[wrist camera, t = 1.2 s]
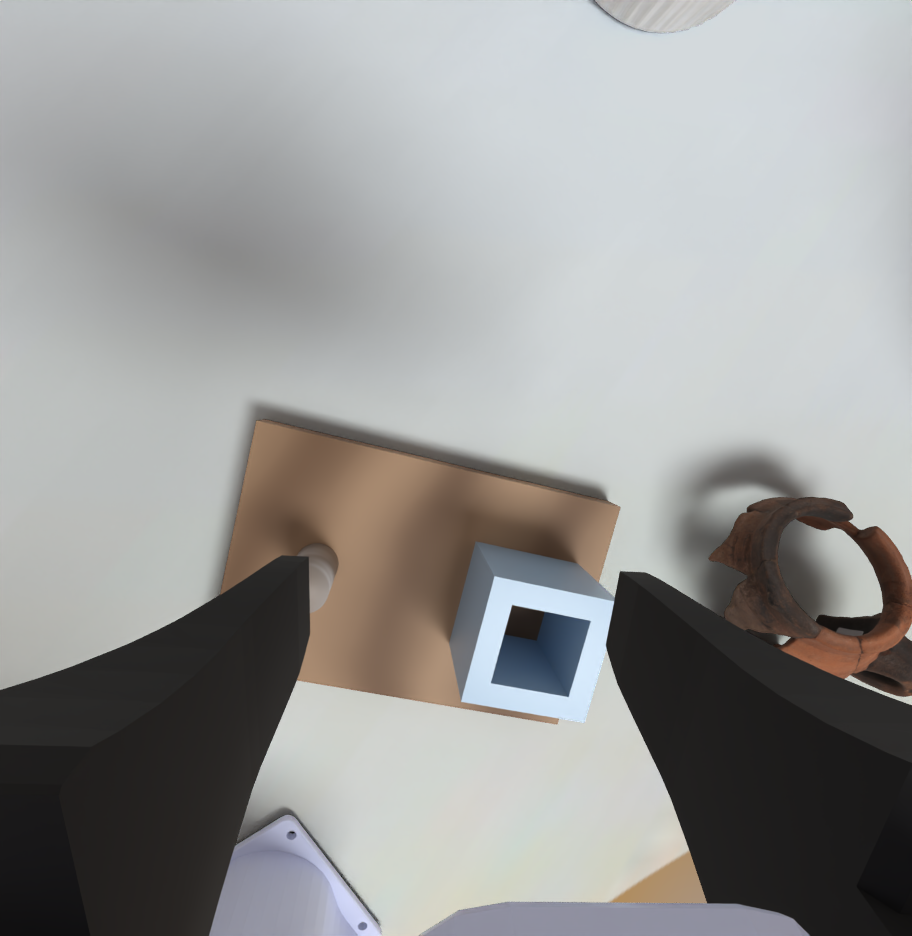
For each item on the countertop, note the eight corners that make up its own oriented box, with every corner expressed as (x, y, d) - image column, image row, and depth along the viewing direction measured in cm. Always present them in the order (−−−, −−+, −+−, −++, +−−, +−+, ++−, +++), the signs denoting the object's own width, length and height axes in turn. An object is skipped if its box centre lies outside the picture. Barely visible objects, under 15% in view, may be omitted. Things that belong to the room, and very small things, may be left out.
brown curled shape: (635, 631, 29) (722, 612, 21) (687, 498, 33) (775, 442, 25) (834, 746, 28) (999, 769, 20) (863, 594, 32) (1012, 566, 24)
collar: (577, 563, 26) (620, 602, 21) (549, 662, 26) (584, 722, 21) (475, 541, 25) (494, 576, 20) (449, 643, 26) (461, 701, 21)
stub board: (608, 501, 27) (655, 524, 22) (549, 707, 28) (580, 772, 23) (264, 419, 25) (231, 424, 20) (216, 649, 26) (173, 708, 21)
